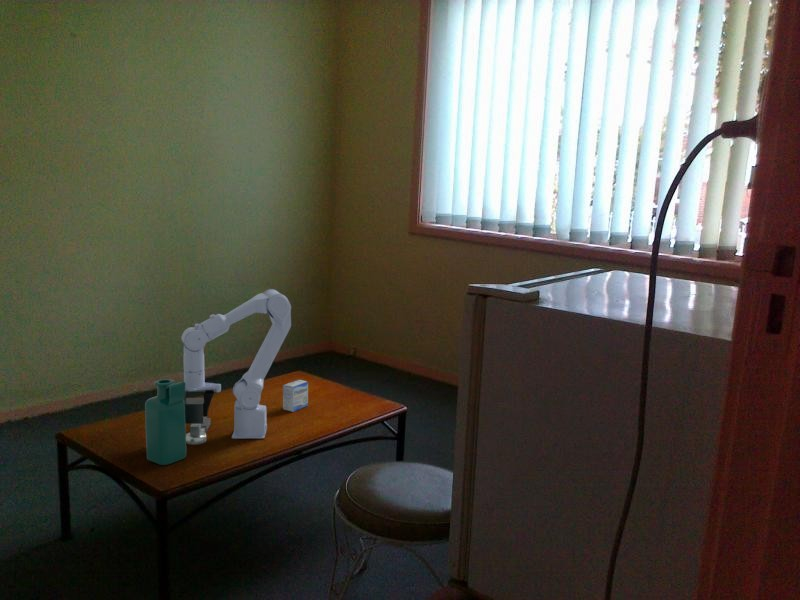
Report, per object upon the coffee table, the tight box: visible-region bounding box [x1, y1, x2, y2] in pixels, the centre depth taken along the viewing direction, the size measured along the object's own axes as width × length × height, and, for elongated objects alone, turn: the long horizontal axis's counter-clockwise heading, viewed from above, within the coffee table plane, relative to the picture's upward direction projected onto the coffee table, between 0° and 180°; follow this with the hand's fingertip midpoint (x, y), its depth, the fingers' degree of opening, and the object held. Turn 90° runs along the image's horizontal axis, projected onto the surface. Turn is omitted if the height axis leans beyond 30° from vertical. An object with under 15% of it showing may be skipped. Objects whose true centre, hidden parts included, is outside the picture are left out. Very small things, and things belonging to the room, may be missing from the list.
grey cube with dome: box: [185, 397, 208, 425], centre depth 204 cm, size 6×6×6 cm
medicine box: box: [282, 379, 309, 413], centre depth 236 cm, size 8×4×9 cm, turn 148°
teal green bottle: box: [144, 378, 187, 466], centre depth 191 cm, size 10×8×22 cm
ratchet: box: [186, 417, 212, 446], centre depth 211 cm, size 17×6×5 cm, turn 5°
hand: (195, 415), depth 205 cm, fingers closed on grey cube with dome, 6 cm apart
